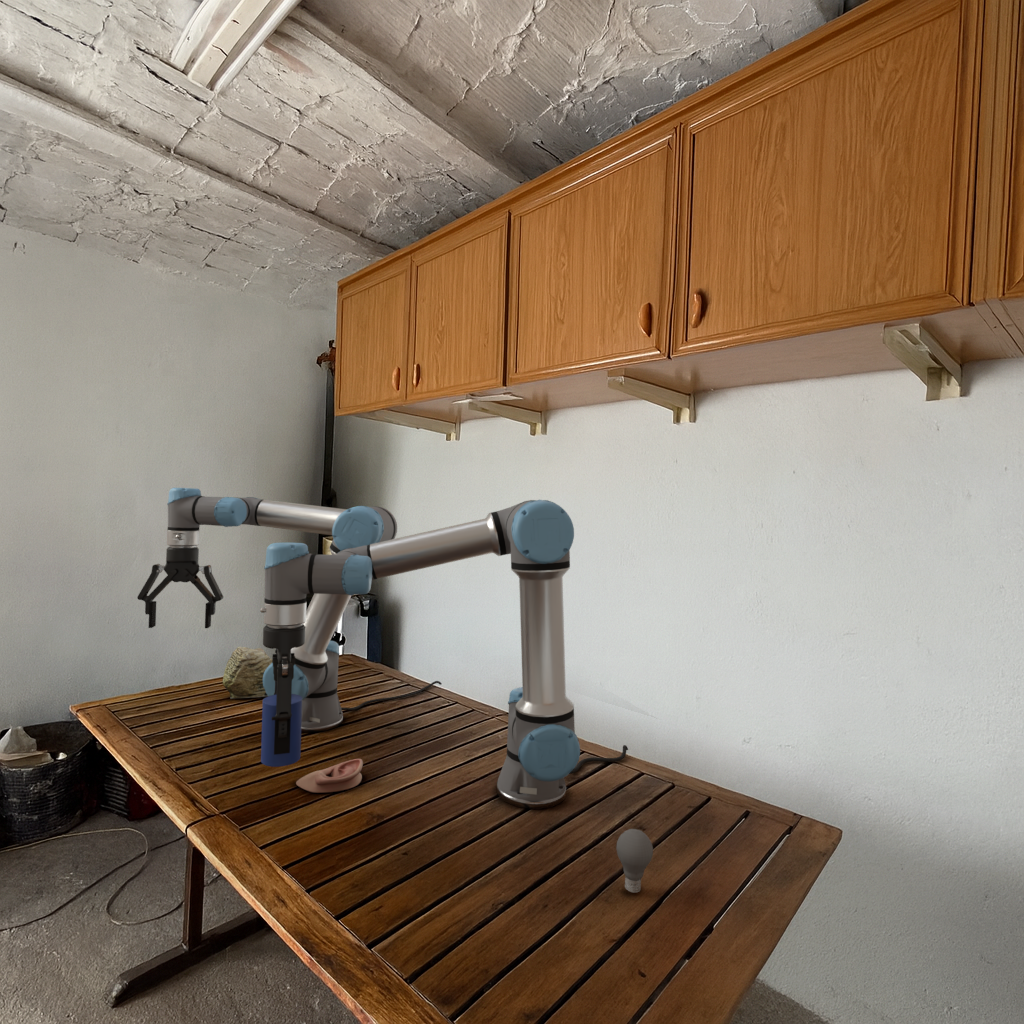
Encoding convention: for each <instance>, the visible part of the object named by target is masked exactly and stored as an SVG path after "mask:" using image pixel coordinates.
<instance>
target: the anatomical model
mask: <svg viewBox="0 0 1024 1024" xmlns="http://www.w3.org/2000/svg"><path fill="white" fill-rule="evenodd" d="M363 765H364V761H363V759H361V758H354V759H350V760H346V761H343V762H340V763H337V764H334V765H332V766H329V767H327V768H324V769H320V770H319V769H318V770H316V771H315V770H314V771H313V772H310V773H308V774H306V775H304V776H302V777H300V778H299V779H297V780H296V782H295V784H296V786H298V787H299V788H301V789H303V790H305V791H307V792H309V793H314V794H316V793H317V794H319V793H321V794H322V793H333V792H341V791H344V790H345V791H346V790H349V789H352V788H355V787H356V786H358V785H359V784H360V783H361V782H362V779H363V775H362V773H361V771H362V769H363Z"/></svg>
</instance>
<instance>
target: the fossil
mask: <svg viewBox="0 0 1024 1024" xmlns="http://www.w3.org/2000/svg"><path fill="white" fill-rule="evenodd" d="M271 663H272V658H271V657H270V656H269V655H268V654H267V653H266V652H265V650H264V649H263V648H260V647H258V648H251V647H247V646H246V647H245V646H238V647H237V648H236V649H235V650H233V651H232V653H231V656H230V657H229V659H228V660H227V663H226V666H225V668H224V671H223V675H222V676H223V677H222V685H223V687H224V688H225V690H226V691H228V693H229V698H230V699H250V698H266V697H268V695H267V694H266V691H265V688H264V687H263V675H264V672H265V670H266V669H267V667H268V666H269V665H270V664H271Z"/></svg>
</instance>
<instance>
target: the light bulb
mask: <svg viewBox="0 0 1024 1024" xmlns="http://www.w3.org/2000/svg"><path fill="white" fill-rule="evenodd" d="M615 849H616V854H617V857H618V859H619V861H620V863H621V865H622V867H623V873H624V874H623V875H624V876H625V878H624V888H625V890H627V891H628V892H630V893H634V894H635V893H639V892H640V891H641V889H642V887H641V886H642V879H643V877H644V875H645V871H646V868H647V867H648V866H649V864H650V863H651V861H652V859H653V855H654V847H653V843H652V841H651V838H649V836H648V835H647V834H646V833H645V832H643V831H642V830H641V829H636V828H629V829H627V830H625V831H623V832H622V833H621V834H620V835H619V837H618V839H617V841H616V847H615Z"/></svg>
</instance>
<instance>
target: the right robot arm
mask: <svg viewBox="0 0 1024 1024" xmlns="http://www.w3.org/2000/svg"><path fill="white" fill-rule="evenodd" d="M572 520H573V519H572V518H571V516H570V515H569V514H568V512H567V511H566V510H565V509H564V508H563V507H562V506H561V505H559V504H557V503H556V502H553V501H551V500H548V499H530V500H529V499H528V500H524V501H522V502H520V503H517V504H515V505H512V506H510V507H506V508H503V509H500V510H496V511H492V512H488V513H487V516H485V518H482V519H478V520H477V519H476V520H473V521H468V522H464V523H459V524H455V525H450V526H445V527H442V528H437V529H432V530H427V531H423V532H419V533H414V534H410V535H406V536H400V537H395V538H394V539H391V540H387V541H383V542H378V543H374V544H370V545H365V546H360V547H356V548H352V547H351V548H346V549H343V550H341V551H340V552H338V553H337V554H336V555H332V554H317V553H310V550H309V546H308V545H307V544H306V543H303V542H291V541H290V542H289V541H288V542H282V541H281V542H273V543H270V544H269V545H268V546H267V547H266V552H265V553H266V554H265V566H264V600H263V601H264V607H263V606H262V607H260V612H261V613H262V614H264V615H263V623H264V624H265V625H264V626H263V629H262V646H264V647H265V648H267V649H272V650H273V649H275V650H274V653H272V658H271V659H272V663H273V674H274V681H275V693H274V695H276V715H275V717H272V720H275V734H274V755H276V754H285V753H290V726H291V716H292V714H291V693H292V679H293V678H294V665H295V656H294V653H291V649H292V648H294V647H296V648H297V647H300V646H302V645H303V644H304V643H305V626H304V625H303V623H305V622H306V611H307V595H308V594H310V595H314V594H345V595H352V596H354V595H367V594H368V593H370V591H371V589H372V588H371V587H372V582H373V581H374V580H378V579H382V578H386V577H387V578H388V577H391V576H395V575H399V574H405V573H410V572H412V571H413V572H414V571H418V570H423V569H427V568H431V567H436V566H441V565H444V564H449V563H454V562H458V561H463V560H467V559H472V558H477V557H481V556H485V555H489V554H494V555H496V556H498V557H501V556H506V555H510V569H511V571H512V572H513V573H514V574H515V575H516V576H517V577H518V584H519V586H518V587H519V615H520V616H519V617H520V618H519V619H520V621H519V622H520V643H521V644H520V647H521V649H520V650H521V652H520V653H521V681H522V682H521V683H522V687H521V686H520V687H515V688H513V689H512V690H510V692H509V697H508V701H507V705H508V715H507V716H508V718H507V739H506V740H507V741H506V757H505V760H504V761H503V765H502V768H501V770H500V773H499V775H498V778H497V782H496V794H497V796H498V797H500V799H501V800H502V801H504V802H505V803H507V804H510V805H512V806H515V807H518V808H524V809H535V810H536V809H547V808H551V807H555V806H557V805H559V804H561V803H562V802H564V800H565V799H566V796H567V783H566V779H565V777H567V776H569V775H572V774H575V773H577V772H578V771H579V770H580V769H581V768H582V766H583V765H584V764H586V763H591V762H593V763H594V762H596V763H597V762H599V763H617V762H621V761H622V760H624V759H625V757H626V755H627V751H628V750H629V747H628V746H627V744H623V745H622V751H621V752H622V753H621V755H620V756H617V757H594V756H593V757H586V758H583V759H581V760H580V756H581V745H580V744H581V743H580V741H579V738H578V735H577V734H576V729H575V706H574V705H575V704H574V702H573V701H572V700H571V699H569V697H568V696H567V688H566V687H567V686H566V685H567V683H566V655H565V654H566V653H565V651H566V649H565V618H564V617H565V616H564V584H563V583H564V582H563V581H564V579H563V578H564V575H565V574H566V573H568V571H569V570H570V569H571V556H570V555H571V553H570V550H571V548H572V545H573V543H574V539H575V528H574V523H573V521H572ZM352 596H351V597H352Z"/></svg>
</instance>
